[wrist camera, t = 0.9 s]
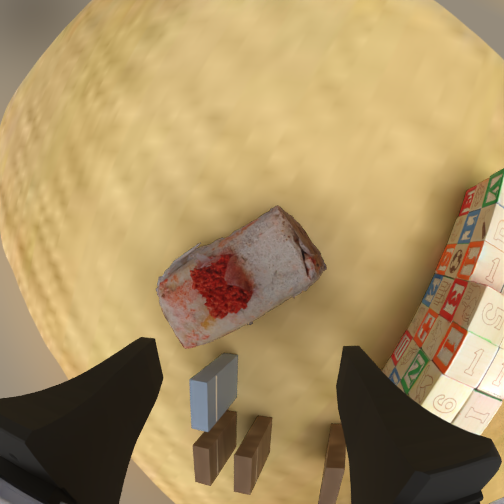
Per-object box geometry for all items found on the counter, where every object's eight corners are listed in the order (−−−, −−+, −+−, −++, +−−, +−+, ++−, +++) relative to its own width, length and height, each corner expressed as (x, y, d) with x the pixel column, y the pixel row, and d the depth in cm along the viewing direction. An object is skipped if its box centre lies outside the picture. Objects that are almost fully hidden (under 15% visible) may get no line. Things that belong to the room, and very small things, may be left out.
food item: (219, 340, 32) (172, 370, 23) (181, 275, 33) (124, 282, 24) (333, 272, 29) (330, 281, 20) (288, 202, 30) (264, 179, 21)
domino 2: (272, 417, 30) (252, 458, 23) (269, 452, 30) (250, 494, 23) (257, 415, 31) (234, 454, 23) (256, 450, 31) (233, 491, 23)
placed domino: (237, 354, 32) (207, 382, 24) (237, 396, 32) (208, 432, 24) (223, 352, 32) (189, 379, 24) (223, 394, 32) (191, 428, 24)
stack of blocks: (464, 188, 25) (524, 153, 14) (509, 217, 24) (579, 199, 12) (374, 382, 28) (387, 449, 16) (421, 403, 26) (452, 471, 14)
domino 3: (346, 424, 28) (344, 468, 21) (339, 459, 28) (335, 505, 21) (331, 423, 29) (325, 467, 21) (325, 458, 29) (317, 504, 21)
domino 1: (236, 412, 32) (209, 449, 24) (236, 446, 32) (210, 486, 24) (223, 409, 32) (192, 445, 24) (223, 443, 32) (195, 481, 24)
